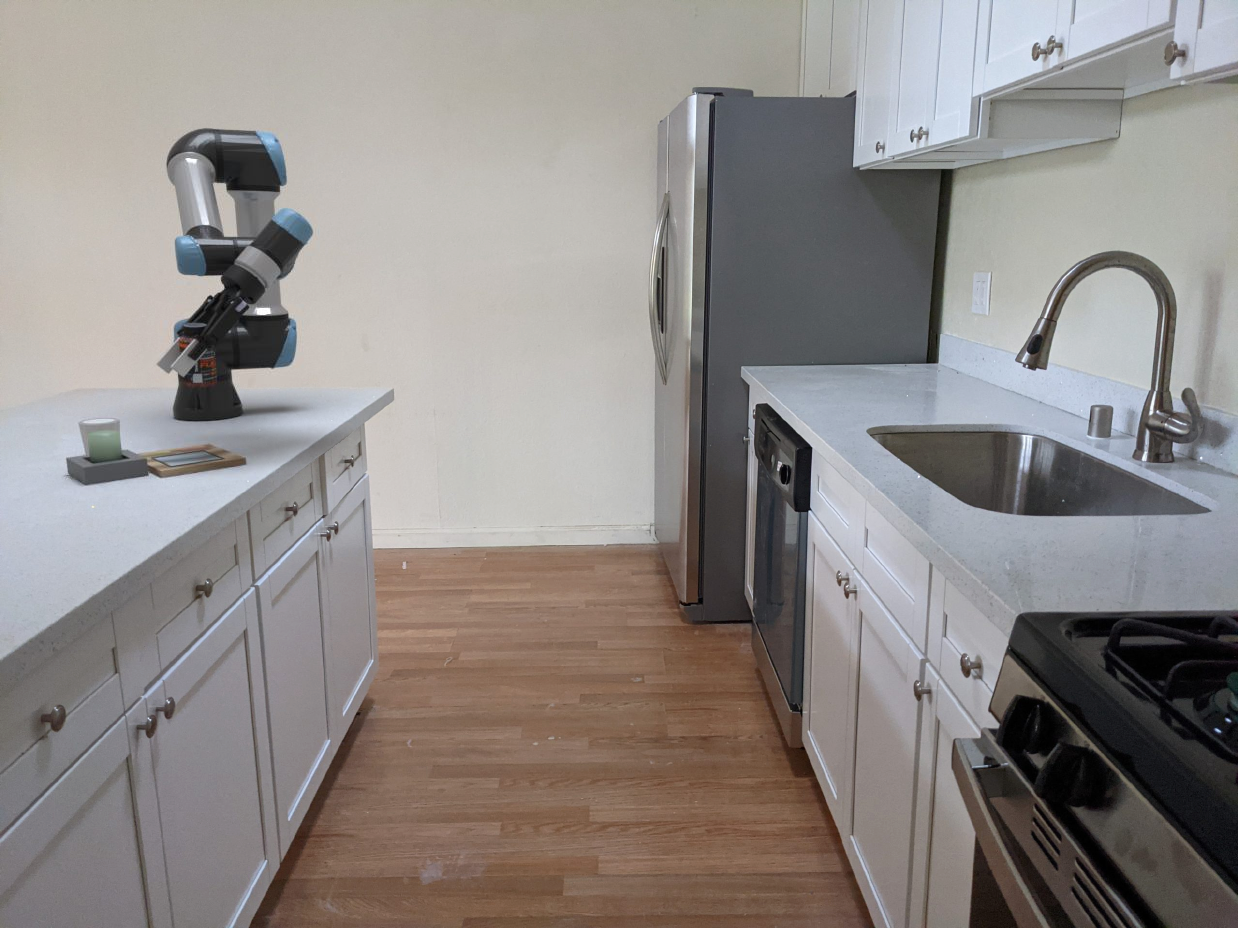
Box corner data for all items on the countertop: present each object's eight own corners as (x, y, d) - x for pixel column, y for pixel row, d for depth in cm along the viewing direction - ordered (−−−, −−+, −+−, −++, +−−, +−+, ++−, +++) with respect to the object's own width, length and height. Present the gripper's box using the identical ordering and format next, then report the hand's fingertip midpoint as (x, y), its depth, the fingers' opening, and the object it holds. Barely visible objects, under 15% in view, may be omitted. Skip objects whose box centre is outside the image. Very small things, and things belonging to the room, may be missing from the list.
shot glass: (82, 462, 172) (77, 425, 170) (83, 454, 178) (78, 418, 176) (123, 458, 175) (119, 422, 173) (123, 451, 181) (119, 416, 179)
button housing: (68, 474, 163) (66, 457, 162) (128, 465, 170) (127, 449, 169) (86, 484, 156) (83, 467, 155) (148, 475, 163) (146, 458, 162)
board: (128, 461, 173) (127, 454, 172) (209, 449, 183) (208, 443, 183) (161, 477, 161) (161, 470, 161) (246, 464, 171) (245, 457, 171)
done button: (86, 460, 162) (83, 432, 161) (117, 456, 166) (114, 429, 164) (95, 465, 159) (92, 437, 157) (126, 461, 162) (123, 433, 161)
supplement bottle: (206, 390, 169) (200, 329, 165) (176, 387, 170) (169, 326, 166) (224, 382, 174) (218, 323, 171) (194, 379, 175) (188, 320, 171)
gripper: (288, 292, 171) (207, 388, 163) (242, 289, 184) (165, 378, 176) (258, 263, 166) (173, 361, 158) (213, 262, 179) (133, 353, 171)
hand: (169, 370), depth 167 cm, fingers closed on supplement bottle, 6 cm apart
